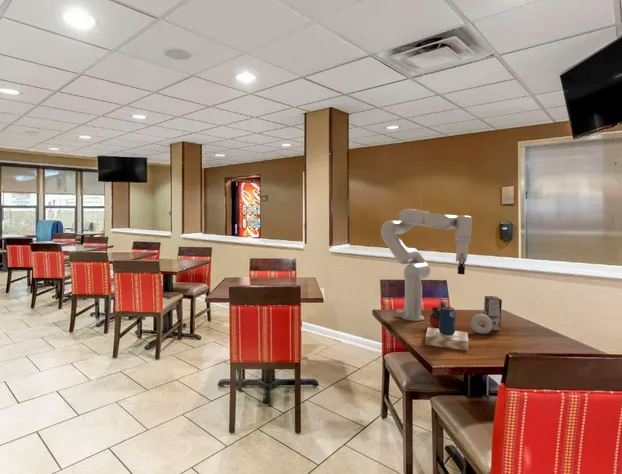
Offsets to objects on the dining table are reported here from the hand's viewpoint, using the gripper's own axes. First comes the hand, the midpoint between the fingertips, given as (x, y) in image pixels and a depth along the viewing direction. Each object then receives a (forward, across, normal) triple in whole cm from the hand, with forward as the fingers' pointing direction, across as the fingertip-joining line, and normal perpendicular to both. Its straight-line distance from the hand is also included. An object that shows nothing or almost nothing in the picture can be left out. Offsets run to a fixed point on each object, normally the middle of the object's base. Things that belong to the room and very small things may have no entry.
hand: (461, 272), depth 188 cm
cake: (+30, +4, -9) cm, 32 cm away
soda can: (+26, +24, -5) cm, 35 cm away
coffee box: (+30, -12, +16) cm, 36 cm away
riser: (+30, +24, -4) cm, 38 cm away
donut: (+30, +2, +11) cm, 32 cm away
